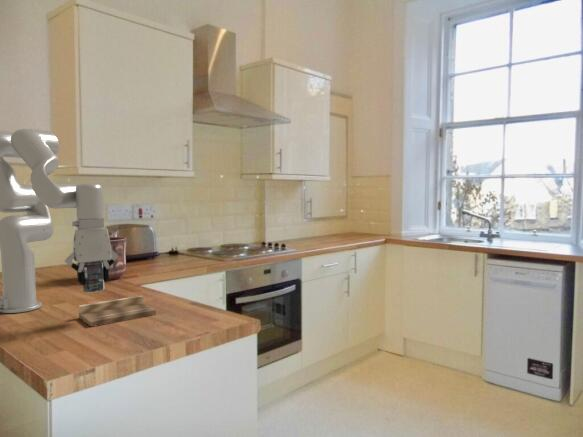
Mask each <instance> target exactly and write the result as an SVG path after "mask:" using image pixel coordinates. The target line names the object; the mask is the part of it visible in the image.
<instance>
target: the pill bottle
mask: <svg viewBox="0 0 583 437" xmlns="http://www.w3.org/2000/svg"><path fill="white" fill-rule="evenodd" d="M83 272H84V276H85V285H82V286H83V292H85V293H98V292H102V291H104V290H105V282H104V271H103V262H102V261H99V262H90V263H85V265H84V267H83Z"/></svg>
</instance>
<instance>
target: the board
mask: <svg viewBox="0 0 583 437" xmlns="http://www.w3.org/2000/svg"><path fill="white" fill-rule="evenodd" d="M155 315H157V310H156V308H155V309H154V308H153V307H151V306H149V305H147V304H146V303H145V304H144V295H137V296H136V295H135V296H130V297H124V298H117V299H112V300H104V301H100V302H99V301H97V302H92V303H86V304H81V305H80V304H79V305H78V318H79V320H81V319H82V320H83V321H82V320H81V321H82V322H83V323H85V322H86V323H87V324H88V325H87V324H86V323H85V324H86V325H87V326H89V325H90V326H94V327H96V326H95V325H99V326H104V325H109V324H114V322H115V323H119V321H120V322H124V321H130V320H134V319H140V318H145V317H150V316H155ZM108 323H109V324H108ZM103 324H104V325H103ZM90 326H89V327H90Z"/></svg>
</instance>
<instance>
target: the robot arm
mask: <svg viewBox="0 0 583 437" xmlns="http://www.w3.org/2000/svg"><path fill="white" fill-rule="evenodd" d="M60 147H61V146H60V142H59V138H58V137H57V136H56V135H55V134H54V133H52V132H51V131H47V130H41V129H40V130H39V129H32V128H22V129H21V128H20V129H18V130H16V131H14V132H11V131H5V130H0V213H4V214H5V213H7V214H8V213H9V214H10V213H12V215H9V216H4V217H2V218H0V259H1V260H0V261H1V263H0V264H1V274H2V276H1V277H2V278H1V281H2V295H1V296H0V313H2V314H17V313H25V312H30V311H34V310H37V309H39V308H41V307H42V306H43V304H42V302H41V301H39V300H37V287H36V286H37V285H36V284H37V283H36V265H35V264H36V263H35V262H36V261H35V254H34V252H33V250H32V249H31V247H30V245H29V244H28V243H36V242H41V241H42V242H43V241H46V240H49V239H50V238H51V237H52V236H53V233H54V223H53V219H52V218H53V217H52V215H51V212H50V209H53V210H56V209H57V210H58V209H59V210H60V209H76V220H75V221H71V226H72V227H76V228H77V229H75V230H74V233H73V234H74V235H73V236H74V237H73V246H72V248H73V249H72V252H70V254H69V255H68V256H67V257H66V258H65V260H64V263H66V265H68V266H70V267H71V269H73V270H74V271H76V274H77V275H76V276H77V283H79V285H81V286H83V285H85V276H84V272H83V267H84V265H85V263H90V262H99V261H102V262H103V271H104V283H108V281H107V279H108V278H109V272H108V269H109V268H110V266H111V265H112V264H113V263H114V261H115V260H116V259H117V258H118V255H117V254H116V253H115V252H114V251H113V250H112V249H111V244H110V238H109V237H110V232H109V230H108V228H107V227H105V215H104V214H105V212H104V194H103V192H104V190H103V187H102V185H101V184H98V183H55V182H54V181H53V180H52V179H51V178H50V177H49V176H50V175H52V174H54V173H55V171H56V170H58V168H59V165H60V160H59V157H58V156H57V154H58V153H59V151H60ZM5 157H6V158H16V159H17V158H19V159H22V160H23V162H25V164H26V165H27V166H28V167H29V169H30V170H31V173H30V184H20V183H19V181H18V178H17V173H16V171H15V169H14V168H13V166H12V165H11V164H10V163H9V162H8V161H7V160H5ZM49 208H50V209H49ZM14 213H15V215H14ZM16 213H26V214H16ZM111 255H112V257H111ZM73 260H74V261H75V262H77V264H75V262H73ZM107 260H108V261H107Z"/></svg>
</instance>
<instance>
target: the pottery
mask: <svg viewBox="0 0 583 437" xmlns="http://www.w3.org/2000/svg"><path fill="white" fill-rule="evenodd" d="M109 238H110V244H111V249H112V250H113V251H114V252H115V253H116V254H117V255H118V258H117V259H116V260H115V261H114V263H113V264H112V265H111V266H110V268H109V269H108V272H109V278H108V279H107V282H110V281H115V280H119V279H120V278H122V277H123V275H124V273H125V271H126V269H127V268H126V267H127V260H126V259H127V258H126V253H127V252H126V251H127V250H126V247H127V241H128V240H127V237H123V236H109ZM111 257H112V255H111ZM107 261H108V260H107Z"/></svg>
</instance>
